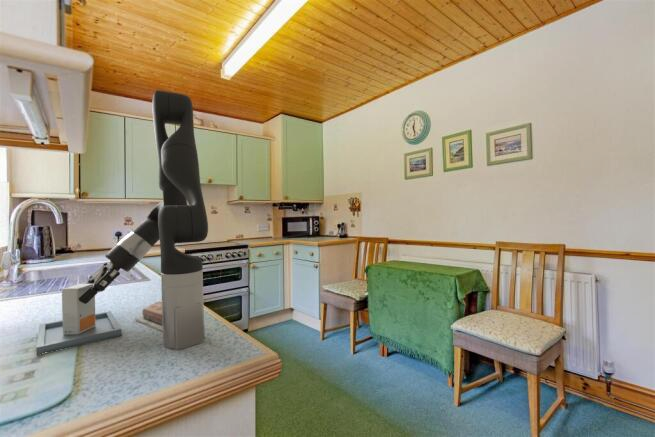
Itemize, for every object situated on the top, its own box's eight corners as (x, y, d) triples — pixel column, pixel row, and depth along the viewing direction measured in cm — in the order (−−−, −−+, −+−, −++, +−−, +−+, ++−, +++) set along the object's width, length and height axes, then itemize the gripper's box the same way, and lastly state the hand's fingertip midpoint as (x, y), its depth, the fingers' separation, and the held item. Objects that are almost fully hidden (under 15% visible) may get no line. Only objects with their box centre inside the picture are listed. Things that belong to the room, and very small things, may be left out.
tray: (121, 335, 80) (121, 328, 80) (36, 355, 70) (36, 347, 70) (110, 316, 95) (110, 311, 95) (39, 330, 85) (39, 324, 85)
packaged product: (200, 307, 89) (165, 317, 81) (201, 323, 89) (166, 335, 81) (167, 297, 100) (134, 306, 91) (168, 312, 100) (134, 322, 92)
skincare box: (78, 335, 80) (76, 288, 79) (62, 335, 80) (60, 288, 80) (96, 326, 86) (95, 283, 86) (81, 326, 86) (80, 283, 86)
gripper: (114, 241, 93) (66, 286, 86) (122, 244, 83) (68, 295, 75) (135, 257, 97) (90, 301, 90) (145, 261, 86) (96, 312, 79)
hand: (80, 298), depth 82 cm, fingers open, 8 cm apart
